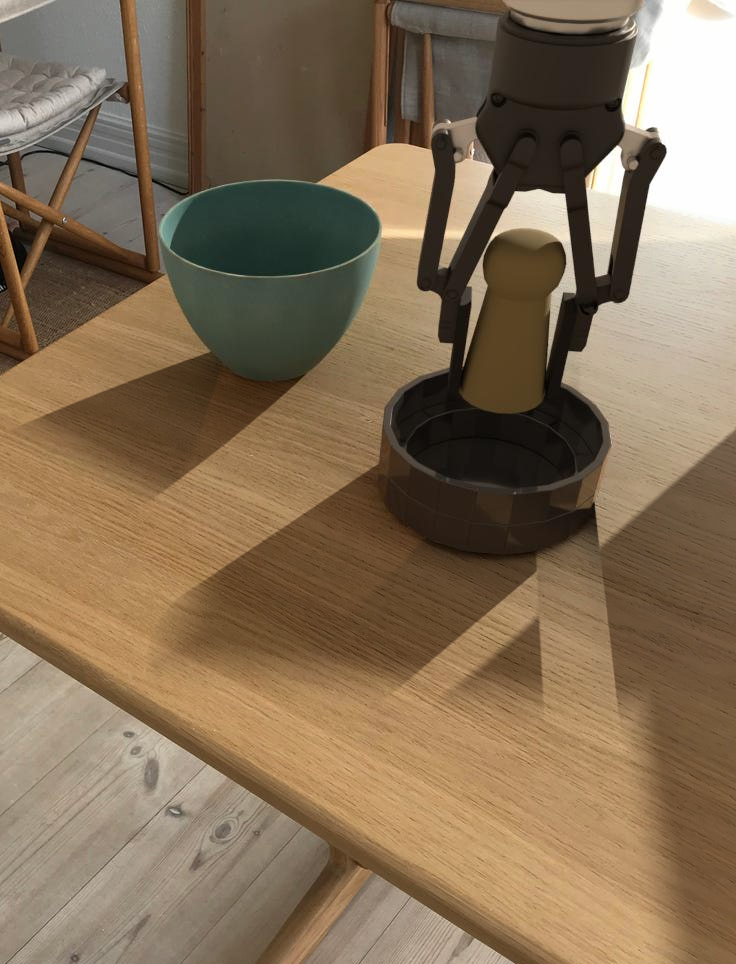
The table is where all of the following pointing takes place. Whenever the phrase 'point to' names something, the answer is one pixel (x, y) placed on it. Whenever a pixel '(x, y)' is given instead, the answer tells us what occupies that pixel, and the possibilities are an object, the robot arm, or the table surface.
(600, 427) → the bowl
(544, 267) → the yellow pawn
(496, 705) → the table surface
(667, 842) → the table surface
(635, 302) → the table surface
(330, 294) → the teal green deep bowl
